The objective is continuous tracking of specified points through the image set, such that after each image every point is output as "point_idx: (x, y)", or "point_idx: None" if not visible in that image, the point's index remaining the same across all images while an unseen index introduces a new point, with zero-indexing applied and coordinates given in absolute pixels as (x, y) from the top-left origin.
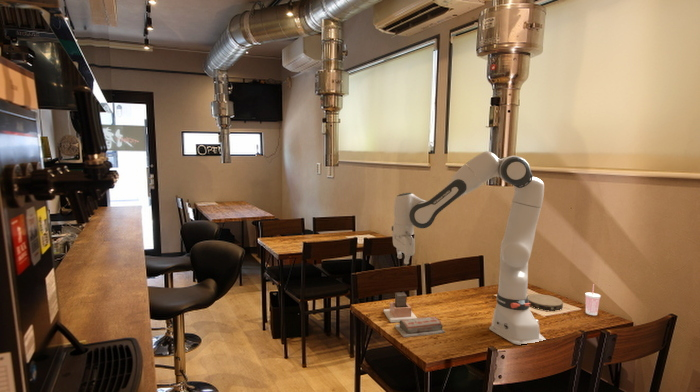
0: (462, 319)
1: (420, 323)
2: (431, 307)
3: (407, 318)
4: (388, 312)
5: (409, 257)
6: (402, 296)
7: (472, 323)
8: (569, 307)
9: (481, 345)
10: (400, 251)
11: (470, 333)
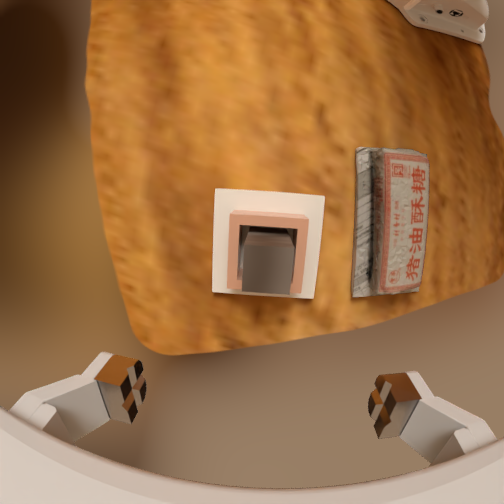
0: (336, 40)
1: (421, 236)
2: (203, 88)
3: (317, 235)
4: None
5: (469, 419)
6: (291, 269)
7: (370, 33)
8: None
9: (486, 112)
10: (67, 406)
11: (433, 85)
